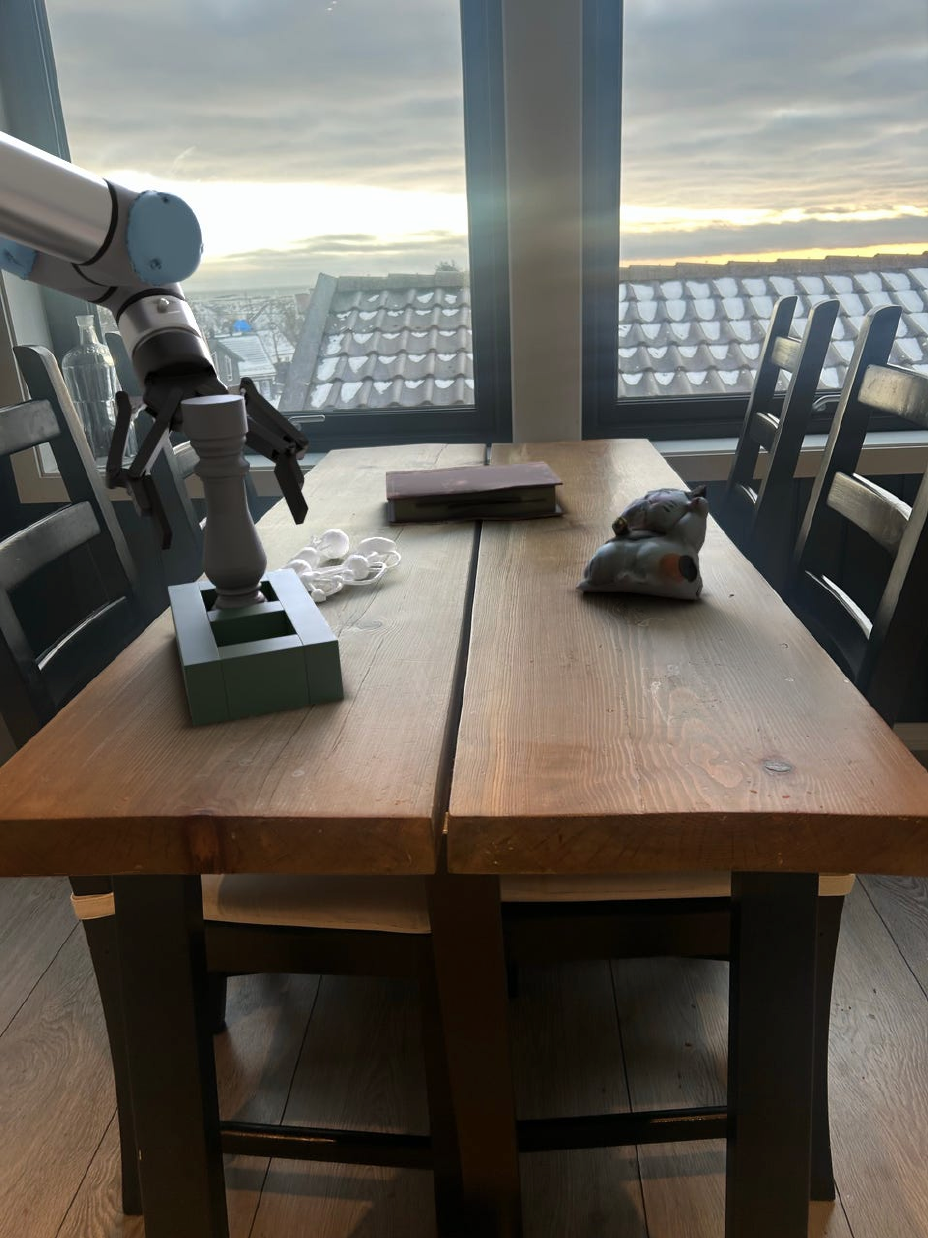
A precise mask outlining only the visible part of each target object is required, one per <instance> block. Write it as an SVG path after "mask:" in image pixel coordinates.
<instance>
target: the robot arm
mask: <svg viewBox="0 0 928 1238" xmlns="http://www.w3.org/2000/svg"><path fill="white" fill-rule="evenodd" d="M204 245H205V238H204V230H203V227H202V224H201V221H200V219H199V217H198V215H197V213H196V211H195V210H194V208H193V207H192V206H191V205H190V203H188V202H187V201H186V200H185V199H184V198H182V197H181V196H179V195H178V194H175V193H172V192H168V191H157V190H154V189H153V190H150V189H147V190H143V191H141V192H137V191H134V190H131V189H129V188H128V187H125V186H122V185H120V184H118V183H115V182H113V181H111V180H109V179H106V178H104V177H102V176H99V175H97V174H95V173H92V172H91V171H87V170H86V169H84V168H81V167H79V166H77V165H75V164H73V163H70V162H69V161H66V160H64V159H61V158H59V157H58V156H55V155H53V154H51V153H48V152H47V151H44V150H42V149H40V148H38V147H36V146H33V145H31V144H30V143H27V142H25V141H22V140H20V139H18V138H16V137H14V136H13V135H9V134H7V133H5V132H3V131H1V130H0V270H3V271H4V272H7V273H9V274H11V275H13V276H16V277H18V278H19V279H20V280H22V281H26V280H27V281H28V282H32V283H34V284H37V285H39V286H40V285H41V286H43V287H46V288H49V289H51V290H54V291H57V292H60V293H64V294H66V295H69V296H71V297H75V298H77V299H80V300H83V301H85V302H88V303H91V304H93V305H96V306H99V307H102V308H105V309H108V310H109V311H110V312H111V314H112V316H113V319H114V322H115V324H116V327H117V329H118V331H119V334H120V337H121V340H122V342H123V346H124V348H125V351H126V354H127V356H128V360H129V362H130V363H131V365H132V370H133V372H134V375H135V378H136V380H137V382H138V383H137V384H138V385H139V388H140V391H141V393H142V395H132V396H130V395H129V394H128V393H127V392H126V391H125V390H117V391H116V392H115V393H114V402H113V403H114V404H113V413H114V417H115V424H114V429H113V433H112V438H111V442H110V447H109V451H108V456H107V461H106V465H105V471H104V472H105V474H104V485H105V488H106V489H109V490H116V489H118V488H122V489H125V493H126V494H127V495H128V496H129V497H131V500H132V503H133V506H134V509H135V511H136V514H137V515H138V516H139V518H140V519H143V518H150V521H151V524H152V527H153V530H154V532H155V535H156V538H157V541H158V542H159V543H158V544H159V547H160V549H161V551H165V550H170V549H171V546H172V538H173V533H174V532H173V531H172V528H171V525H170V522H169V520H168V517H167V514H166V511H165V508H164V505H163V503H162V500H161V497H160V495H159V492H158V489H157V487H156V484H155V481H154V479H153V476H152V474H149V473H150V471H151V469H152V467H153V465H154V463H155V462H156V460H157V458H158V456H159V454H160V452H161V451H162V449H163V448H164V445H165V444H167V442H168V440H169V438H170V437H171V436H172V435H171V434H172V432H174V433H179V435H180V436H182V435H185V428H184V421H183V415H182V408H181V402H182V401H183V400H187V399H191V398H197V397H205V396H216V395H239V396H243V397H244V401H245V409H246V415H247V416H246V417H247V425H248V432H247V433H246V434H245V437H246V442H245V444H244V446H247V447H248V448H250V449H252V450H253V451H254V452H256V453H258V454H260V455H261V456H263V457H264V458H266V459H267V460H269V461H271V462H272V463H274V464H275V466H274V469H273V473H274V476H275V478H276V480H277V483H278V485H279V488H280V490H281V493H282V495H283V497H284V500H285V502H286V504H287V507H288V509H289V512H290V514H291V517H292V519H293V521H294V523H295V526H299V525H303V524H304V522H305V520H306V517H307V514H308V511H309V510H310V509H309V506H308V503H307V501H306V499H305V497H304V494H303V487H304V485H305V476H304V474H303V471H302V468H301V466H300V464H299V462H298V461H302V460H304V459H305V455H306V453H307V449H308V446H309V444H310V441H309V439H308V438H307V436H305V435H304V434H303V433H302V432H301V431H300V430H299V429H298V428H297V427H296V426H295V425H294V424H293V423H291V421H289V419H287V418H286V417H285V416H284V415H283V414H282V413H281V412H280V411H279V410H278V409H277V408H276V407H275V406H274V405H272V404H271V402H270V401H268V400H267V399H266V398H265V397H264V396H263V395H262V394H261V393H260V392H259V390H258V388H257V387H256V385H255V382H254V380H253V379H252V378H251V377H248V376H243V377H242V378H241V379H240V383H237V384H231V385H227V386H226V384H225V383H223V382H222V381H221V380H220V379H219V377H218V374H217V371H216V368H215V365H214V363H213V361H212V358H211V355H210V353H209V351H208V348H207V347H206V344H205V342H204V340H203V337H202V334H201V332H200V329H199V327H198V325H197V322H196V319H195V317H194V315H193V312H192V310H191V308H190V306H189V303H188V301H187V299H186V298H185V295H184V292H183V289H182V286H181V284H180V282H181V283H182V282H183V281H185V280H187V279H189V278H190V277H191V276H193V275H194V274H195V273H196V271H197V269H198V268H199V266H200V265H201V262H202V259H203V254H204ZM141 411H144V413H146V414H147V415H149V417H151V418H153V419H154V422H153V424H152V426H151V428H150V430H149V432H148V433H147V435H146V436H145V439H144V440H143V442H142V443H141V445H140V447H139V449H138V451H137V453H136V454H135V456H134V458H133V460H132V462H131V464H130V465H129V467H128V468H125V467H123V465H124V462H125V456H126V453H127V452H126V451H127V446H128V441H129V438H130V432H131V422H134V421H135V420H136V419H137V418H138V417H139V413H140V412H141ZM248 416H249V417H250V418H249V417H248Z"/></svg>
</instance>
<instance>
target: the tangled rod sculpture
mask: <svg viewBox="0 0 928 1238" xmlns="http://www.w3.org/2000/svg"><path fill="white" fill-rule="evenodd" d="M310 539H311V540H310V543H309V544H308V545H306V546H304V547H303V548H302V549H301V550H300V551H298V553H297V554H295V555H293V556H292V557H291V558H290V559H289V560H288V561H287V563H286V564H284V565H282V566H280V567H279V568H276V570H275V571H278V570H285V569H291V568H293V570H294V571H295V573H296V574H297V576H298V578H299V579H300V581H301V582H302V584H303V585H304V587H305V589H306V590H307V592H308V593H309V592H311V593H310V597H311V598H312V600H313V601H314V603H315V604H316V603H320V602H324V601H326V598H327V597H328V596H330V595H333V594H335V593H337V592H339V591H340V590H342V589H343V588H344V586H345V585H348V586H364V585H365V586H367V585H371V584H374V583H376V582H378V581H379V580H380V579H381V578H382V576H383V575H384V573H386V572H388V571H392V570H395V569H397V568H398V567H400V566H401V564H402V560H403V559H402V555H400V553H398V552H397V551H396V549H397V544H396V542H395V541H393V540H391V539H388V538H384V537H380V536H375V537H374V536H373V537H370V538H365V539H363V540H362V541H360V542H359V543H358V545H357V546H356V549H355V550H353V552H351V553H350V554H349V555H348V556H347V557H346V558H345V559H344V560H343V562H342V563H341V564H338V565H332V566H324V567H318V566H319V564H320V562H321V561H320V559H321V557H320V553H322V554H323V555H324V556H325V557H326V558H329V559H332V560H336V559H341V558H342V557H344V556H345V555H346V554H347V553H348V551H349V550H350V539H349V537H348V535H347V534H346V533H345V532H344V531H343V530H341V529H337V528H331V529H328V530H326V531H324V532H323V534H322V535H321V537H320V538H319V540H318V541H316V540H317V536H316V535H312V536H311V537H310ZM317 548H319V549H318V550H317ZM386 556H395V557H396V558H397V562H396V563H394V564H393V565H390V566H387V564H386V563H384V562H382V561H381V560H382V559H383V558H385V557H386ZM317 567H318V568H317ZM375 567H379V568H375ZM370 573H377V574H376V575H375V577H373V578H371V579H368V580H367V579H366V578H367V577H368V576H369V574H370ZM338 574H340V575H338ZM328 577H331V578H329V579H327V578H328ZM325 578H326V579H325ZM365 579H366V580H365ZM317 585H327V586H329V587H330V588H331V590H329V591H326V592H325V591H323V590H322V589H320V588H318V589H316V586H317Z"/></svg>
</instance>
